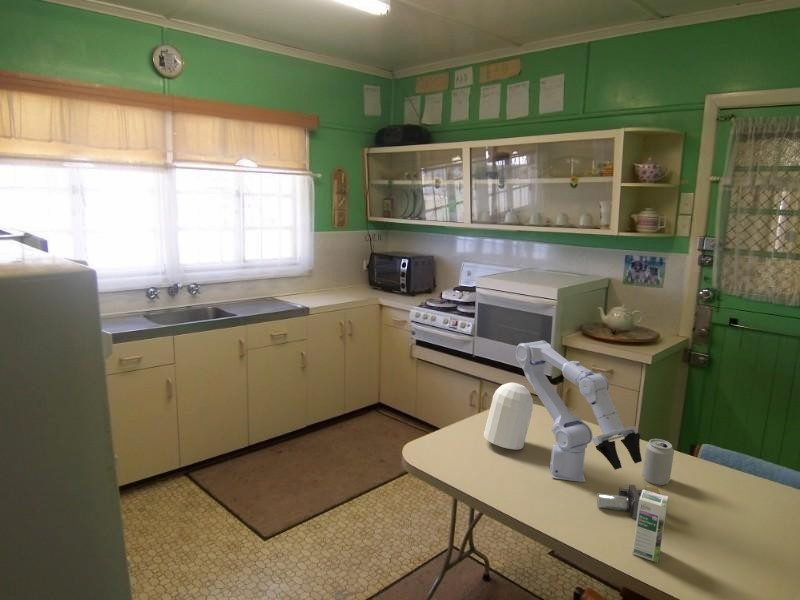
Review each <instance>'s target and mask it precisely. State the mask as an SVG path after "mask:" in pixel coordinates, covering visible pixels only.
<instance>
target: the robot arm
mask: <svg viewBox="0 0 800 600" xmlns="http://www.w3.org/2000/svg"><path fill="white" fill-rule="evenodd" d="M515 359H516V361H517V363H518V364H519V366H520V367H521V369H522V370H523V372H524V376H525V378H526V379H527V380H528V382H529V384H530V386H531V387H532V388H533V390H534V392H535V394H536V395H537V397H538V398H539V400H540V401H541V403H542V404H543V406H544V407H545V409H546V410H547V412H548V414H549V415H550V417H551V419H552V420H553V421H554V424H553V425H552V429H551V432H552V433H553V435H554V438H555V442H556V444H552V447H551V455H550V456H551V457H550V461H549V462H550V463H549V468H550V474H551V478H552V479H558V480H564V481H572V482H573V481H574V482H581V483H585V482H586V477H585V475H584V466H585V465H584V464H585V455H586V448H588V444H590V443H591V442H593V443H594V446H595V448H596V450H597V451H598V452H599V453H601V455H603V457H605V459H606V460H607V461H608V463H609V464H610V465H611V466H612V468H613V469H614V470H615V471H616V470H619V469H622V463H621V459H620V457H619V454H618V450H617V448H616V447H617V446H616V441H615V440H616V439H617V440H619V439H620V438H621V440H620V442H621V443H622V444H623V446H624V447H625V449H626V450H627V452H628V454H629V455H630V457H631V459H632V461H633V463H634V464H637V463H641V462H642V461H643V459H642V454H641V448H640V442H641V440H640V439H641V434H640V432H638V429H637V427H636V425H633V426H627V427H624V424H623V423H622V421H621V418H620V416H619V414H618V411H617V410H616V407H615V404H614V403H613V400H612V398H611V396H610V394H609V388H610V386H609V385H610V383H609V380H608V378H607V377H606V376H605V375H604V374H603V373H602V372H597V373H596V372H593V371H592V370H591V369H588V368H587V367H585V366H583V365H582V364H581V362H580V361H578V360H570V361H569V360H568V359H566V358H565V357H564V356H562V355H561V354H560V353H559V352H557V351H556V350H555V349H553V348H552V345H551V344H550V343H548V342H547V341H546V340H539V341H538V340H537V341H533V342H532V341H531V342H525V343H524V342H521V343H519V344H517V346H516V349H515ZM549 364H550V365H551V366H553V367H555V368H556V369H558V370H560V371H561V372H562V377H564V378H565V379H566V380H568V381H569V382H571V383H572V384H573V385H575V386H576V387H578V388H579V389H578V391H579V393H580V394H581V395H582V396H583V397H584V398H585V399H586V401H587V403H588V404H589V405H590V407H591V409H592V412H593V414H594V416H595V419H596V421H597V423H598V425H599V429H600V431H601V432H602V434H599V435H597V436H594V437H593V430H592V429H591V427H590V426H589V425H588V424H587V423H586V422H584V421H583V420H582V418H581V417H580V416H578V415H575V414H573V413H571V411H570V410H569V409H568V407H567V406H566V404H565V402H564V401H563V399H562V398H561V397H560V395H559V393H558V392H557V390H556V389H555V387H554V386H553V385H552V383H551V382H550V380H549V379H548V376H547V375H546V374H545V371H544V370H545V369H546V368H547V366H548V365H549Z"/></svg>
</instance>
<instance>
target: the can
mask: <svg viewBox="0 0 800 600" xmlns="http://www.w3.org/2000/svg"><path fill="white" fill-rule="evenodd" d="M674 450H675V449H674V448H673V444H671V443H670V442H669V441H667V440H664V439H660V438H652V439H649V441H648V443H646V445H645V451H644V457H643V458H644V459H643V466H642V473H641V475H642V477H643V479H644V480H645V481H646V482H647V483H650V484H653V485H655V486H664V485H667V484H669V482H670V480H671V475H672V474H671V473H672V468H673V461H674V455H675V451H674Z"/></svg>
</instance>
